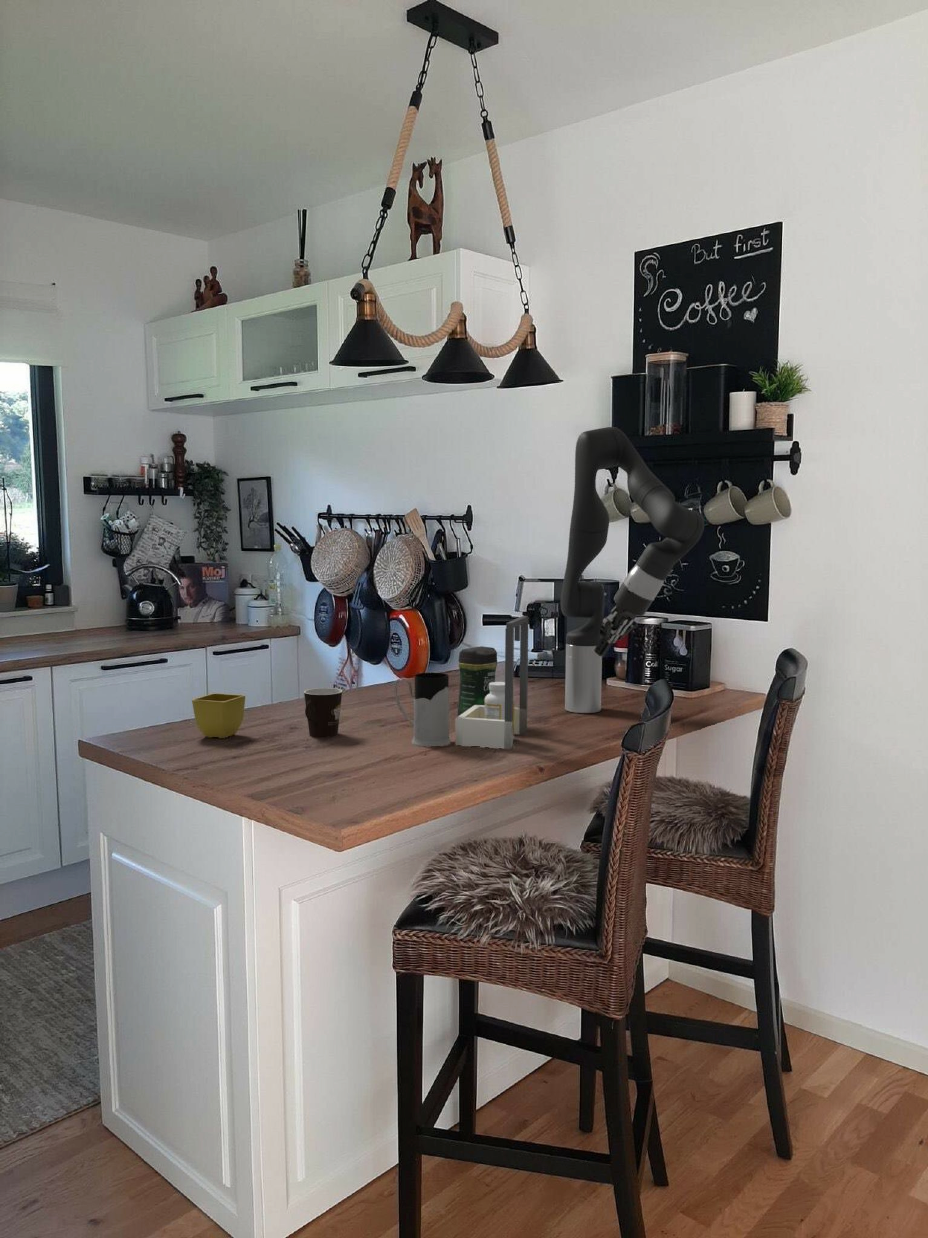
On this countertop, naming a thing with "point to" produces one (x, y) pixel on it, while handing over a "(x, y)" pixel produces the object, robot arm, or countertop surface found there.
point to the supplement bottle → (496, 702)
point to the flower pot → (219, 714)
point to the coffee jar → (475, 676)
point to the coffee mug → (323, 711)
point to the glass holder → (429, 709)
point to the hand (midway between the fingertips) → (598, 653)
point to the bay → (500, 732)
